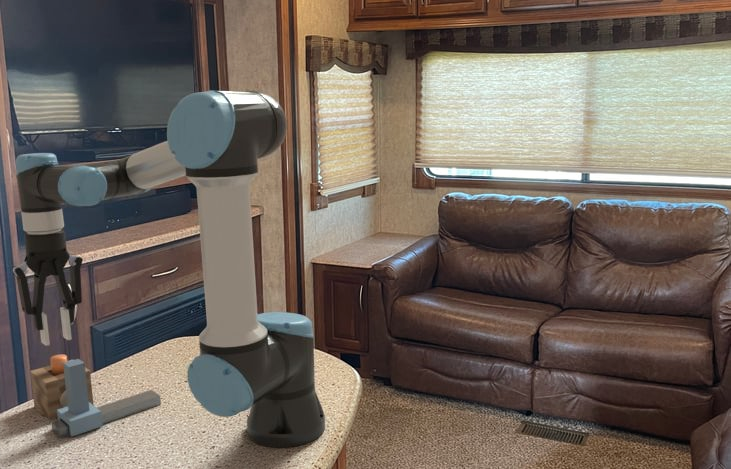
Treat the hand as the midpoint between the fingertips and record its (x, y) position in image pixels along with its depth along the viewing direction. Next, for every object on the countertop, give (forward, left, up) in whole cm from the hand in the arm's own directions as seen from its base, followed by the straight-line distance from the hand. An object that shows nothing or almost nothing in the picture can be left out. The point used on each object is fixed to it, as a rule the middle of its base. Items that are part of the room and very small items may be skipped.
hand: (56, 340), depth 144 cm
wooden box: (0, 0, -15) cm, 15 cm away
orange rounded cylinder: (0, 0, -7) cm, 7 cm away
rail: (-12, -5, -15) cm, 19 cm away
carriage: (-12, +1, -15) cm, 19 cm away
